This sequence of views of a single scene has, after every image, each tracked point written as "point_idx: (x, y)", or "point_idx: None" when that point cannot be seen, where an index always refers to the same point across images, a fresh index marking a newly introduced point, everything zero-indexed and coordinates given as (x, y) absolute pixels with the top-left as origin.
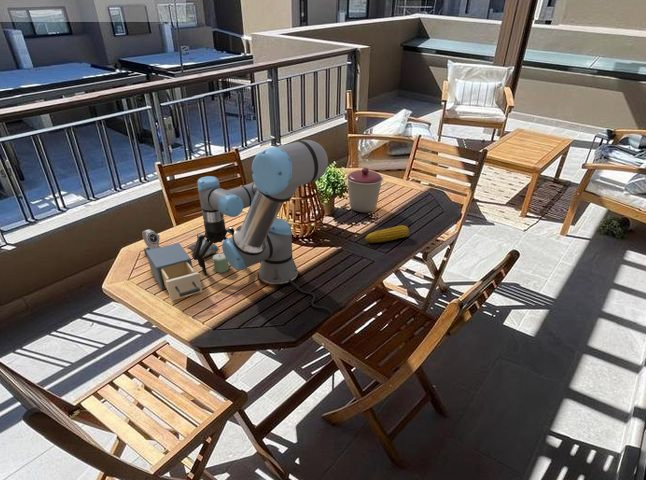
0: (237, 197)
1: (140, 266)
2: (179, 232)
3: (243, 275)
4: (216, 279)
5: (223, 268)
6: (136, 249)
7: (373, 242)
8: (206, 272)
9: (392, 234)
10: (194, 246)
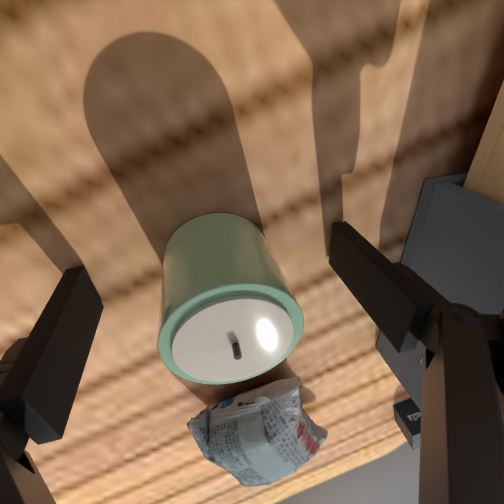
0: None
1: None
2: (289, 487)
3: (18, 72)
4: (301, 124)
5: (216, 229)
6: None
7: None
8: (340, 230)
9: None
10: (311, 444)
